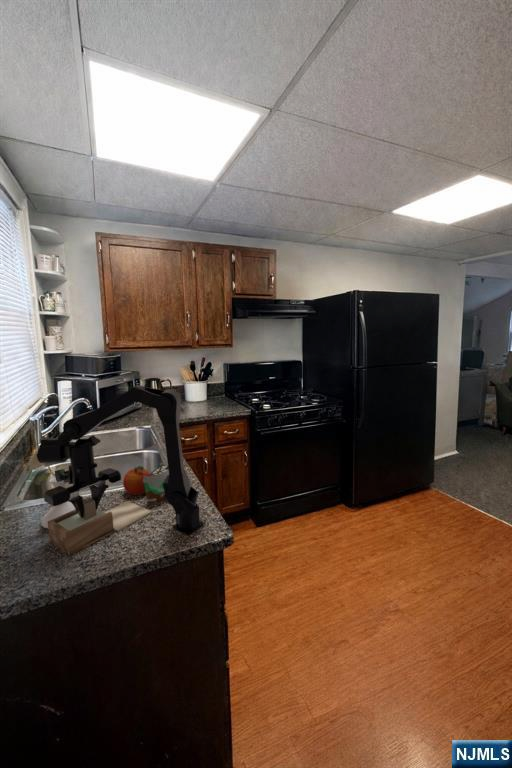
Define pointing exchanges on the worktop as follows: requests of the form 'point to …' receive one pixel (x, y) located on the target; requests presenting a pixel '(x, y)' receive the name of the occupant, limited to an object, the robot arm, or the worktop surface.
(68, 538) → the box
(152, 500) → the food container
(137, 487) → the fruit
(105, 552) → the worktop surface
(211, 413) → the worktop surface
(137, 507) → the mat
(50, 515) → the flower in vase
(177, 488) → the robot arm
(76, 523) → the lid
